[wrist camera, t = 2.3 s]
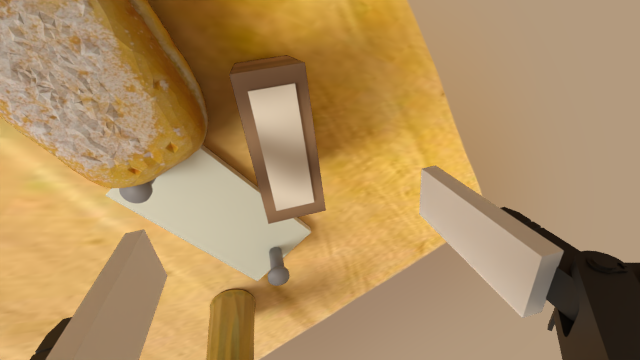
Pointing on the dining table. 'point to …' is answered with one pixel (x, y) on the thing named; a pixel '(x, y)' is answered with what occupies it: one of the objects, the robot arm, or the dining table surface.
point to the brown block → (280, 135)
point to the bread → (99, 87)
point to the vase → (231, 326)
